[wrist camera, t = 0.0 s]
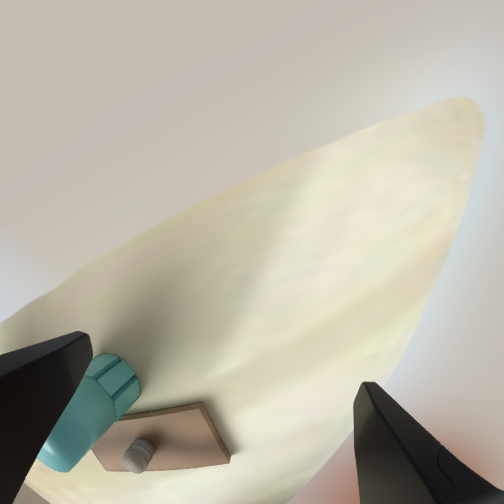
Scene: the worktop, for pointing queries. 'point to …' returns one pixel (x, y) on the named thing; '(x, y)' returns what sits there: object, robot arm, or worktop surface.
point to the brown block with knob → (162, 441)
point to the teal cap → (91, 411)
